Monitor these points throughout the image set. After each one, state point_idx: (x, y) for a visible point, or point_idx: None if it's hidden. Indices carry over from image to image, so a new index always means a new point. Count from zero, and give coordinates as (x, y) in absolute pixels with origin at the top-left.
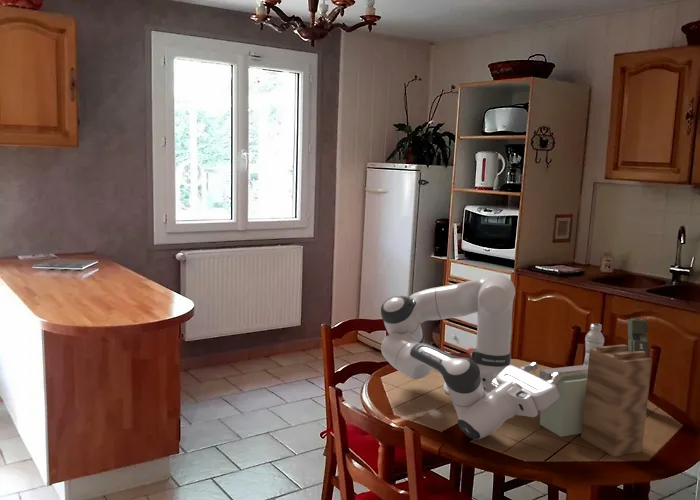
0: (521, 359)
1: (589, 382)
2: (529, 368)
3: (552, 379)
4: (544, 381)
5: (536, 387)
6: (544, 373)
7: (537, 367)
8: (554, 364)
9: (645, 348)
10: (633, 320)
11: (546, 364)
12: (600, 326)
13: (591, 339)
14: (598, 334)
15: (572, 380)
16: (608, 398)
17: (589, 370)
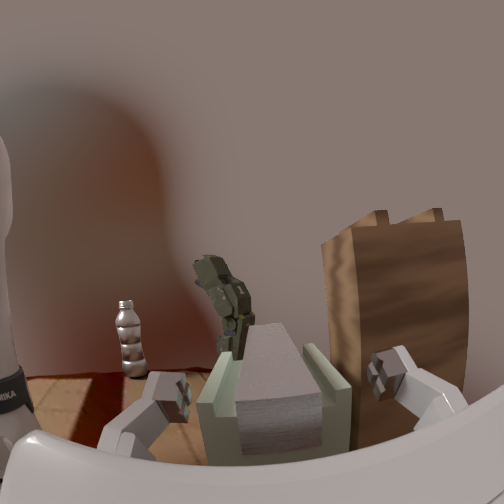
0: (43, 377)
1: (372, 346)
2: (155, 423)
3: (439, 385)
4: (468, 421)
5: (495, 487)
6: (283, 407)
7: (190, 395)
8: (83, 374)
9: (245, 291)
10: (210, 257)
11: (74, 376)
12: (132, 302)
13: (127, 322)
14: (133, 313)
15: (327, 373)
16: (440, 349)
17: (365, 306)
